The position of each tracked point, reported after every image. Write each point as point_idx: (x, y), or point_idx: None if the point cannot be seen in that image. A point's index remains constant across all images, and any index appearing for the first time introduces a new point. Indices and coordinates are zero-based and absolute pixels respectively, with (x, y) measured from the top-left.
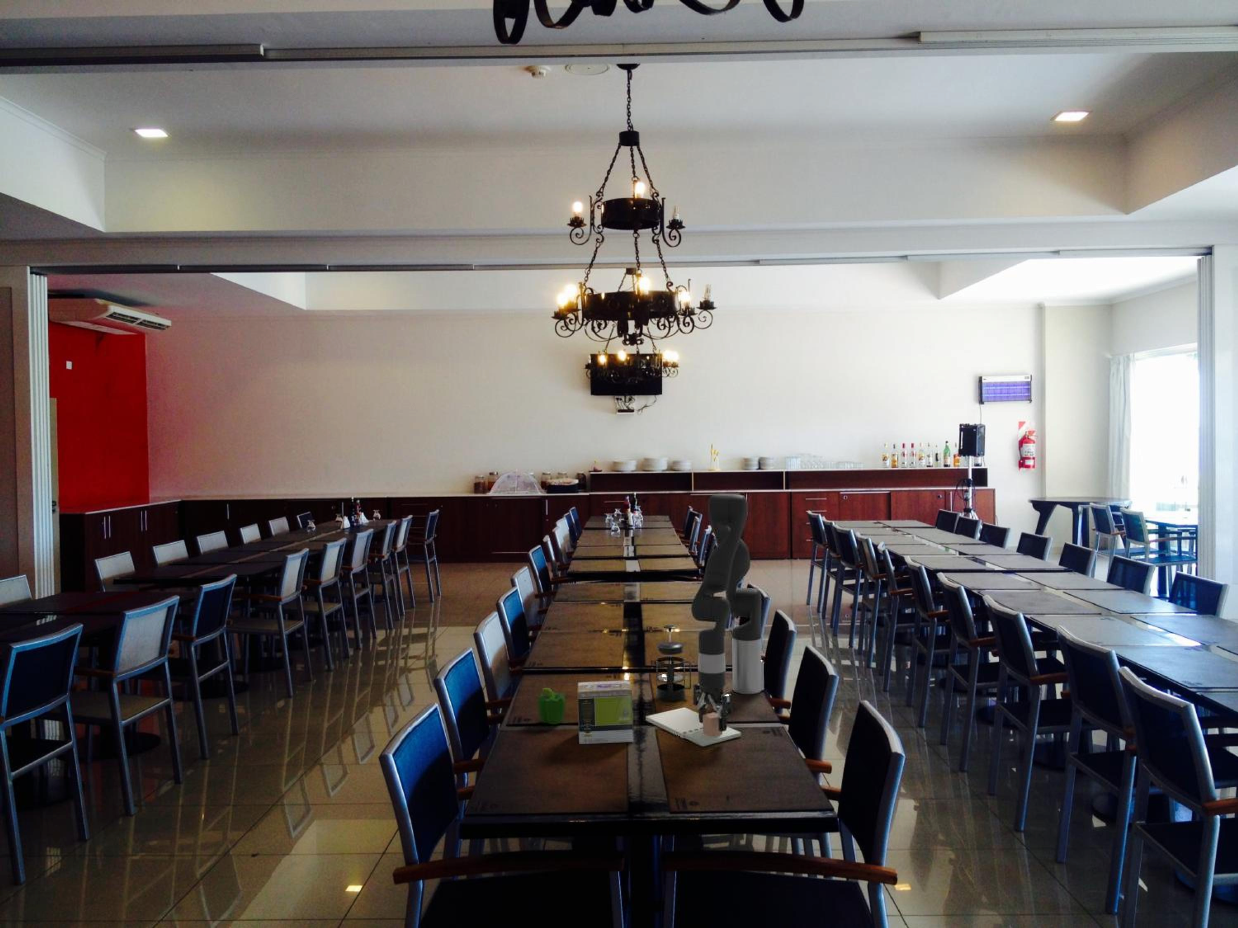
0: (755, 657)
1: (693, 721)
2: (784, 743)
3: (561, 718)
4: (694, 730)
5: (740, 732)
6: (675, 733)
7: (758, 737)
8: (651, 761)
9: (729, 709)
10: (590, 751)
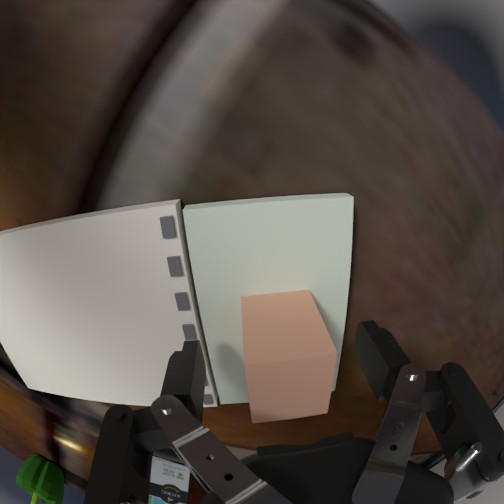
0: None
1: (89, 310)
2: (478, 102)
3: (54, 470)
4: None
5: (350, 197)
6: None
7: (395, 126)
8: None
9: (462, 399)
10: (203, 497)
